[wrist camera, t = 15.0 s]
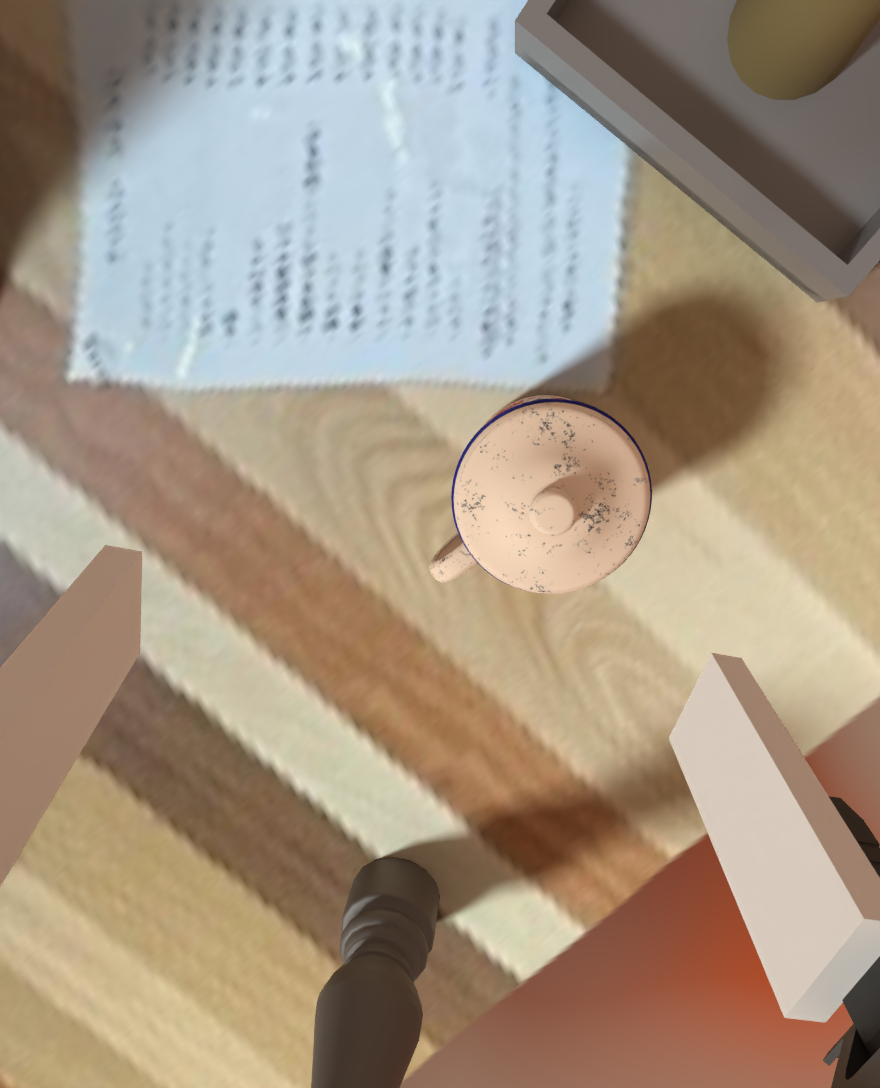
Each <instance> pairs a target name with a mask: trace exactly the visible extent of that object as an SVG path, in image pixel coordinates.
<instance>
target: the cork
mask: <svg viewBox="0 0 880 1088" xmlns="http://www.w3.org/2000/svg"><path fill="white" fill-rule="evenodd" d="M879 20H880V0H737V1H736V3H735V6H734V8H733V11H732V13H731V16H730V21H729V29H728V37H727V42H728V48H729V54H730V60H731V63H732V65H733V67H734V68H735V70H736V72H737V74H738V76H739V78H740V80H741V81H742V82H744V83H745V84H746V85H747V86H748V87H749V88H750V89H751V90H753V91H754V92H755V93H757V94H759V95H762V96H765V97H768V98H770V99H773V100H796V99H799V98H802V97H805V96H807V95H810V94H813V93H816V92H817V91H819V90H820V89H821V88H823V87H824V86H826V85H827V84H828V83H830V82H831V81H833V80H834V79H835V78H836V77H837V75H838V74H839V73H840V72H841V71H842V69H843V68H844V67H845V66H846V64H847V63H848V62H849V61H850V59H851V58H852V57H853V55H854V54H855V53H856V51H857V50H858V48H859V47H860V46H861V44H862V43H863V42H864V40H865V39H866V37H867V36H868V35H869V33H870V32H871V31H872V29H873V28H874V26H875V25H876V24H877V22H878V21H879Z"/></svg>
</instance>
